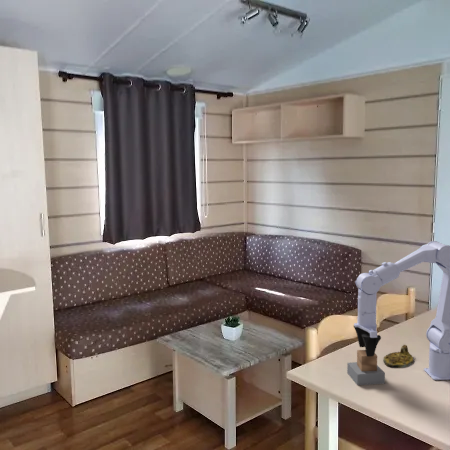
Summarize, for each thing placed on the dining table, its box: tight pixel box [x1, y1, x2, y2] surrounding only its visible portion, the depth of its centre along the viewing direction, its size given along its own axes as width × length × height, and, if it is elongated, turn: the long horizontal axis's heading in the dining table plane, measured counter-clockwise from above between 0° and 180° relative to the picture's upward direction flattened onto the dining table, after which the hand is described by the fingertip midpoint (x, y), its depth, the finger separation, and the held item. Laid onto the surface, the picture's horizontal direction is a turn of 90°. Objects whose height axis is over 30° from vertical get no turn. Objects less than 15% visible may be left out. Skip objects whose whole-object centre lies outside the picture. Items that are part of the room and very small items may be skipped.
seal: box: [382, 344, 414, 369], centre depth 168 cm, size 9×5×15 cm
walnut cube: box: [356, 349, 378, 371], centre depth 154 cm, size 5×5×5 cm
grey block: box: [346, 361, 386, 386], centre depth 155 cm, size 9×9×4 cm
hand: (366, 351), depth 154 cm, fingers open, 7 cm apart
